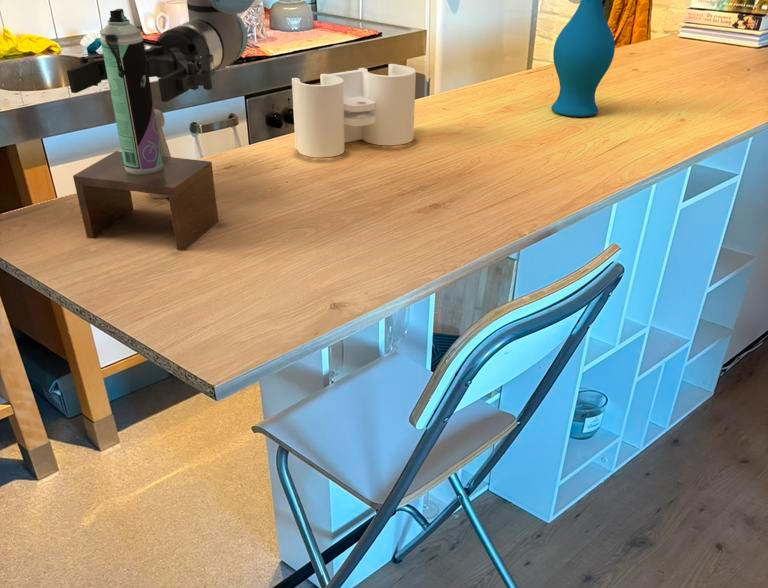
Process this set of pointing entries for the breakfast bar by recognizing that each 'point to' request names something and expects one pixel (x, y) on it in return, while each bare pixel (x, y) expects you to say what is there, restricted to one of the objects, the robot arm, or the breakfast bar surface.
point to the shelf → (177, 180)
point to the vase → (582, 59)
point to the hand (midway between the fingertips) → (116, 86)
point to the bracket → (354, 110)
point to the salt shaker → (161, 143)
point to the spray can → (131, 94)
